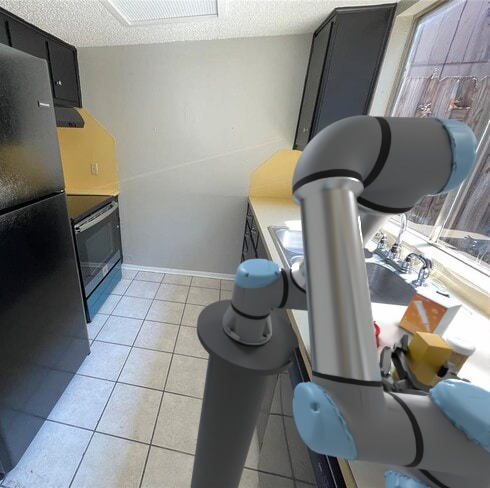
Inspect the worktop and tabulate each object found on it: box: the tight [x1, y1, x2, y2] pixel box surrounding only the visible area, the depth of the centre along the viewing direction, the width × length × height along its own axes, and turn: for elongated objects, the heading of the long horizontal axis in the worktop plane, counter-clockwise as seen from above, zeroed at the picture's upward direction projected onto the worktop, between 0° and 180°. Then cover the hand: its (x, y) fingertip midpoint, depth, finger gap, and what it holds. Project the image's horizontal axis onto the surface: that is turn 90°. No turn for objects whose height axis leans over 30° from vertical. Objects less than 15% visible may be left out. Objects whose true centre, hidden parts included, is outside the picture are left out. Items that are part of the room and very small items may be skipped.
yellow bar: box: [394, 331, 453, 386], centre depth 54 cm, size 4×4×12 cm
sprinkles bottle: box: [430, 334, 477, 388], centre depth 61 cm, size 5×5×14 cm
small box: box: [398, 288, 463, 338], centre depth 77 cm, size 8×6×13 cm
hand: (421, 346), depth 57 cm, fingers closed on yellow bar, 5 cm apart
